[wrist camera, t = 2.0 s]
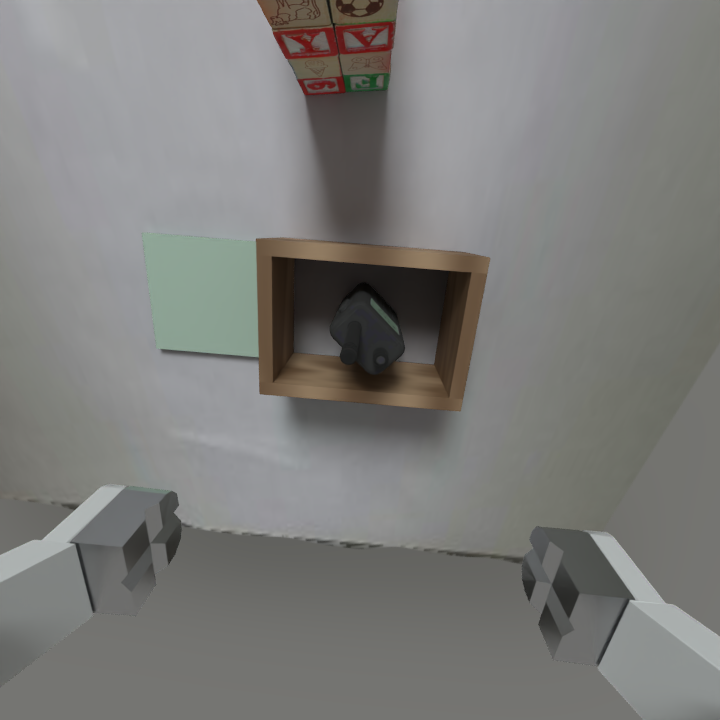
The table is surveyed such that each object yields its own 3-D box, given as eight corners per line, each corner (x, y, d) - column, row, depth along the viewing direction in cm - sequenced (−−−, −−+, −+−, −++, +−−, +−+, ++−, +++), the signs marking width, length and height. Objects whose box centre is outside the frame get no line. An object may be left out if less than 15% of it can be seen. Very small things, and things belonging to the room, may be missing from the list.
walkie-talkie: (400, 317, 31) (421, 387, 17) (372, 342, 32) (369, 428, 18) (362, 276, 30) (352, 314, 16) (334, 303, 31) (300, 362, 17)
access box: (282, 361, 33) (259, 394, 26) (282, 237, 29) (256, 238, 23) (443, 375, 33) (460, 411, 26) (464, 252, 29) (490, 257, 22)
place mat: (160, 346, 33) (156, 348, 32) (146, 232, 29) (141, 232, 29) (266, 355, 33) (264, 357, 32) (264, 242, 29) (262, 242, 29)
